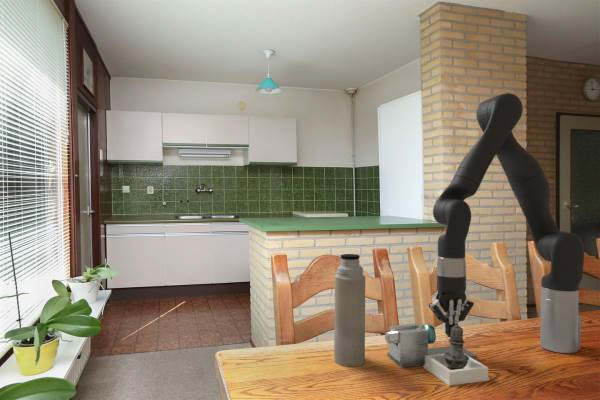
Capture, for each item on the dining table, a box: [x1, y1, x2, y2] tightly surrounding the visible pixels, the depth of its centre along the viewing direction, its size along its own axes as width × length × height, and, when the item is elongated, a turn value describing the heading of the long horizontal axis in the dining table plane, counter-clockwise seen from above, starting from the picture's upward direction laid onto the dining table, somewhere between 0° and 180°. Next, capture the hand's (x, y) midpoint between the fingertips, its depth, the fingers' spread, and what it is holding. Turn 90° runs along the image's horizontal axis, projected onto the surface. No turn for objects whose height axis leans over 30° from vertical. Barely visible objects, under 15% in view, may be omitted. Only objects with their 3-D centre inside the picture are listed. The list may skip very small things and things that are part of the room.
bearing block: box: [387, 323, 478, 369], centre depth 120 cm, size 22×8×8 cm, turn 106°
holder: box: [423, 354, 491, 387], centre depth 110 cm, size 11×11×3 cm
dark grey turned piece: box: [444, 322, 469, 370], centre depth 110 cm, size 6×6×12 cm
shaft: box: [384, 323, 437, 345], centre depth 118 cm, size 13×5×5 cm, turn 106°
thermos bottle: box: [333, 253, 366, 367], centre depth 117 cm, size 8×8×28 cm
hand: (451, 336), depth 121 cm, fingers closed
